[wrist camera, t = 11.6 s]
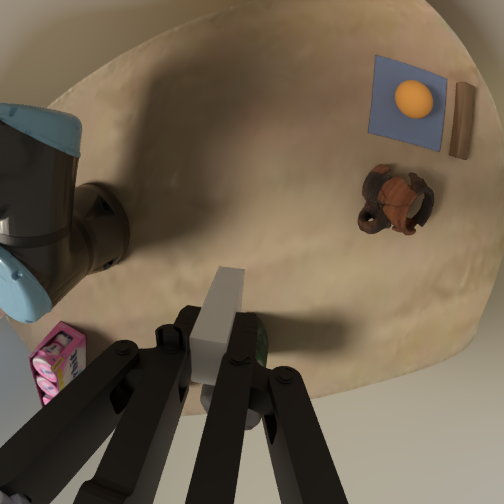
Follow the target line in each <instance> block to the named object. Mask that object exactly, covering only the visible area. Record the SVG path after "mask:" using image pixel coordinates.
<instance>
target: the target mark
mask: <svg viewBox="0 0 504 504" xmlns="http://www.w3.org/2000/svg"><path fill="white" fill-rule="evenodd" d="M407 80H415V81H419V82H421V83H422V84H424V85H425V86H426V87H427V88H428V89H429V90H430V92H431V94H432V97H433V107H432V109H431V111H430V113H429V114H428V115H427V116H425V117H423V118H419V119H415V118H410V117H408V116H406V115H405V114H403V113H402V112H401V111H400V110H399V108H398V107H397V104H396V101H395V92H396V89H397V87H398V86H399V85H400V84H401V83H402V82H404V81H407ZM446 85H447V79H446V78H444V77H441V76H439V75H436V74H433V73H431V72H428V71H425V70H423V69H420V68H417V67H414V66H411V65H408V64H405V63H402V62H399V61H395V60H392V59H389V58H385V57H382V56H378V55H375V70H374V82H373V93H372V103H371V112H370V121H369V129H368V133H371V134H375V135H379V136H384V137H388V138H392V139H396V140H400V141H403V142H407V143H411V144H414V145H418V146H421V147H425V148H428V149H432V150H435V151H438V152H440V145H441V138H442V130H443V121H444V112H445V100H446Z"/></svg>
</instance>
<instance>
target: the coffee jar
mask: <svg viewBox="0 0 504 504" xmlns="http://www.w3.org/2000/svg"><path fill="white" fill-rule="evenodd" d="M258 320H259V319H258ZM267 355H268V339H267V335H266V332H265V329H264V327H263V325H262V323H261V321H260V320H259V325H258V333H257V341H256V349H255V358H256V360H257V362H258V363H259V364H260V365H262V366H263V367H266V363H267ZM214 387H215V386H214V385H208V384H203V386H202V392H201V397H200V401H201V404H202V405H203V407H204V409H205V411H206V412H207V414H208V411H209V407H210V403H211V399H212V395H213V391H214ZM260 420H261V414H260V413H258V412H255V411H253V410H250V409H248V410H247V417H246V424H245V430H251V429H252V428H253V427H255V426H256V425H258V423H259V422H260Z"/></svg>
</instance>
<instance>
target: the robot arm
mask: <svg viewBox="0 0 504 504" xmlns="http://www.w3.org/2000/svg"><path fill="white" fill-rule="evenodd" d="M81 135H82V124H81V122H80V120H79V119H78V118H77V117H76V116H75V115H72V114H69V113H66V112H62V111H57V110H52V109H47V108H41V107H36V106H29V105H22V104H11V103H0V308H1V309H2V310H3V311H4V312H5V313H7V314H8V315H9V316H10V317H12V318H13V319H15V320H17V321H19V322H22V323H33V322H36V321H37V320H39V319H40V318H41V317H42V316H43V315H44V314H46V313H48V312H50V311H51V310H52V308H53V307H54V306H55V305H56V304H57V303H58V302H59V301H60V300H61V299H62V298H63V297H64V296H65V295H66V294H67V293H68V292H69V291H70V290H71V289H72V288H73V287H74V286H76V285H77V284H78V283H79V282H80V281H81V280H82V279H83V278H84V277H85V276H86V275H90V274H93V273H97V272H101V271H104V270H107V269H109V268H111V267H112V266H113V265H114V264H116V263H117V262H118V261H119V260H120V259H121V258H122V257H123V255H124V253H125V252H126V249H127V247H128V243H129V225H128V220H127V217H126V214H125V212H124V210H123V208H122V206H121V204H120V203H119V201H118V200H117V199H116V198H115V196H114V195H113V194H111V193H110V192H109V191H108V190H106V189H105V188H103V187H101V186H98V185H94V184H84V185H81V186H78V187H75V183H76V175H77V168H78V161H79V158H80V156H81V153H80V143H81ZM244 273H245V269H237V268H230V267H222V266H219V268H218V271H217V273H216V275H215V278H214V280H213V282H212V285H211V287H210V289H209V292H208V294H207V296H206V299H205V301H204V304H203V306H202V307H196V306H190V305H187V306H186V307H184V308H183V309H181V311H180V312H179V314H178V317H177V318H176V320H175V322H174V324H166V325H162V326H160V327H158V328H157V329H156V330H155V334H156V342H157V346H156V347H155V348H148V349H138V346H137V344H136V343H134V342H133V341H130V340H120V341H116V342H115V343H113V344H112V345H111V346H109V347H108V348H107V349H106V350H105V351H104V352H103V353H102V354H101V355H99V356H98V357H97V358H96V359H95V360H94V361H93V362H92V363H91V364H89V365H88V366H87V367H86V368H85V369H84V370H83V371H82V372H81V373H80V374H78V375H77V376H76V377H75V378H74V379H73V380H72V381H71V382H70V383H69V384H68V385H66V386H65V387H64V388H63V389H62V390H61V391H60V392H59V393H58V394H57V395H56V396H55V397H53V398H52V399H51V400H50V401H49V402H48V403H47V404H46V405H45V406H44V407H43V408H42V409H41V410H40V411H38V412H37V413H36V414H35V415H34V416H33V417H32V418H31V419H30V420H29V421H28V422H27V423H26V424H25V425H24V426H23V427H22V428H21V429H19V431H17V432H16V433H15V434H14V435H13V436H12V437H11V438H10V439H9V440H8V441H7V442H6V443H5V444H4V445H3V446H2V447H1V448H0V504H50V503H51V501H52V500H53V499H54V498H55V497H56V496H57V495H58V494H59V493H60V492H61V491H62V489H63V488H64V487H65V486H66V485H67V484H68V482H70V480H71V479H72V478H73V477H74V476H75V475H76V473H77V472H78V471H79V470H80V469H81V468H82V466H83V465H84V464H85V463H86V462H87V461H88V459H89V458H90V457H91V456H92V455H93V454H94V453H95V451H96V450H97V449H98V448H99V447H100V446H101V444H102V443H103V442H104V441H105V440H106V438H107V437H108V436H109V435H110V434H111V433H112V432H113V430H114V429H115V428H116V429H115V431H114V433H113V436H112V438H111V440H110V442H109V444H108V446H107V449H106V451H105V453H104V455H103V457H102V459H101V462H100V464H99V466H98V468H97V471H96V473H95V475H94V477H93V478H92V479H91V480H88V481H85V482H84V483H83V484H82V485H81V487H80V489H79V491H78V493H77V495H76V498H75V500H74V502H73V504H153V501H154V498H155V494H156V491H157V488H158V484H159V481H160V478H161V475H162V471H163V469H164V466H165V462H166V459H167V456H168V453H169V449H170V447H171V443H172V440H173V437H174V434H175V431H176V427H177V425H178V422H179V418H180V415H181V412H182V409H183V406H184V403H185V400H186V397H187V394H188V391H189V379H190V377H191V381H192V382H197V383H203V384H208V385H214V386H215V387H214V391H213V395H212V399H211V403H210V407H209V411H208V415H207V419H206V422H205V426H204V431H203V434H202V438H201V442H200V446H199V450H198V454H197V458H196V462H195V466H194V470H193V474H192V478H191V481H190V485H189V490H188V493H187V497H186V501H185V504H234V498H235V492H236V485H237V478H238V472H239V465H240V459H241V452H242V445H243V438H244V431H245V424H246V417H247V410H248V409H250V410H253V411H255V412H258V413H260V414H261V417H262V421H263V425H264V430H265V435H266V439H267V444H268V448H269V453H270V457H271V462H272V466H273V470H274V475H275V479H276V483H277V487H278V492H279V496H280V500H281V504H348V501H347V498H346V496H345V493H344V490H343V487H342V485H341V482H340V479H339V476H338V474H337V471H336V468H335V466H334V463H333V460H332V458H331V455H330V452H329V449H328V447H327V444H326V441H325V439H324V436H323V433H322V430H321V428H320V425H319V422H318V420H317V417H316V414H315V411H314V409H313V406H312V403H311V401H310V398H309V395H308V393H307V390H306V387H305V384H304V382H303V379H302V376H301V375H300V373H299V372H298V371H297V370H295V369H294V368H291V367H288V366H280V367H276V368H274V369H272V370H271V369H268V368H266V367H263V366H262V365H260V364H259V363H258V362H257V360H256V358H255V349H256V341H257V333H258V325H259V320H258V318H257V316H256V314H249V313H241V312H240V311H241V305H242V294H243V284H244Z"/></svg>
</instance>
